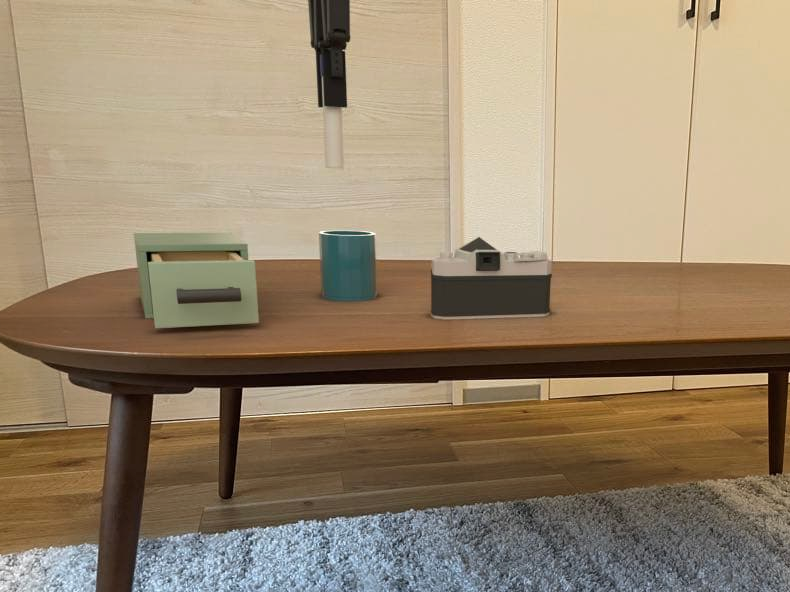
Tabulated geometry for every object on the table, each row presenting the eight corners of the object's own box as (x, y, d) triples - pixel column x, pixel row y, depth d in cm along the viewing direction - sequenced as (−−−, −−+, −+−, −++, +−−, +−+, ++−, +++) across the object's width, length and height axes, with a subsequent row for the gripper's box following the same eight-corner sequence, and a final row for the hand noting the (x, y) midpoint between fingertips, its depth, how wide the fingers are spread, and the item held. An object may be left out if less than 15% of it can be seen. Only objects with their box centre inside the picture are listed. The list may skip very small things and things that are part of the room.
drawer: (265, 330, 82) (261, 266, 80) (157, 337, 78) (150, 268, 76) (242, 303, 96) (238, 248, 94) (149, 307, 92) (143, 249, 90)
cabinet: (252, 315, 94) (247, 243, 92) (145, 320, 89) (137, 244, 86) (236, 297, 106) (231, 232, 103) (141, 300, 100) (133, 233, 98)
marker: (327, 168, 99) (322, 53, 95) (322, 167, 102) (317, 55, 98) (347, 168, 101) (343, 55, 97) (342, 168, 103) (338, 57, 99)
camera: (533, 307, 108) (536, 233, 105) (557, 319, 100) (561, 240, 97) (420, 310, 102) (420, 232, 99) (436, 323, 94) (437, 239, 91)
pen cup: (329, 304, 103) (326, 235, 101) (316, 295, 109) (313, 230, 107) (383, 302, 107) (382, 235, 104) (368, 293, 113) (366, 230, 110)
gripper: (373, -118, 87) (379, 106, 94) (339, -83, 100) (346, 111, 107) (305, -131, 84) (316, 102, 91) (278, -94, 97) (290, 107, 104)
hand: (332, 106), depth 99 cm, fingers closed on marker, 3 cm apart
